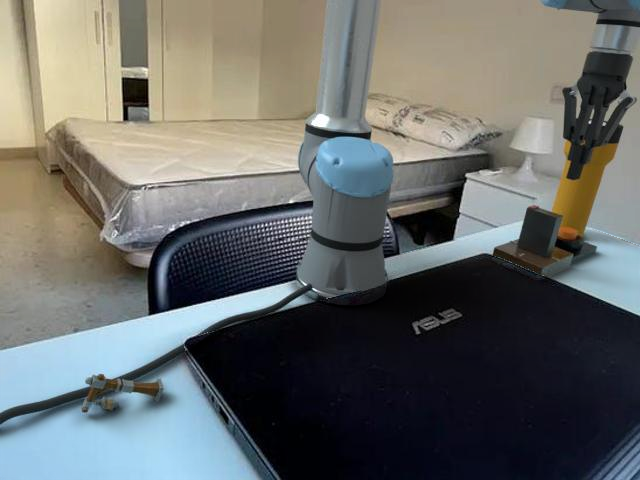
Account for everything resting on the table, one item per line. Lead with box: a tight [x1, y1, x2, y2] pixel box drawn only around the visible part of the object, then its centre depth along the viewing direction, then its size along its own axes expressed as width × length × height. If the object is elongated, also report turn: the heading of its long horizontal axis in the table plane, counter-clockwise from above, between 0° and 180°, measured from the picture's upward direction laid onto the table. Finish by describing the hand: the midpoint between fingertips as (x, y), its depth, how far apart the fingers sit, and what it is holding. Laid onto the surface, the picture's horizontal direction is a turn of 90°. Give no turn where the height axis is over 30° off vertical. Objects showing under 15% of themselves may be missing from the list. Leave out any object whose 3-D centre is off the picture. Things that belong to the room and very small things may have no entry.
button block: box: [554, 234, 598, 266], centre depth 105 cm, size 11×9×4 cm
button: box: [557, 227, 578, 240], centre depth 104 cm, size 4×4×2 cm
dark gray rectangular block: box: [517, 204, 563, 257], centre depth 95 cm, size 6×2×8 cm, turn 39°
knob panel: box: [492, 238, 574, 279], centre depth 97 cm, size 12×10×3 cm
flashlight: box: [551, 117, 624, 238], centre depth 111 cm, size 10×26×10 cm
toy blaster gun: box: [81, 373, 165, 414], centre depth 53 cm, size 2×8×4 cm, turn 118°
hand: (572, 178), depth 99 cm, fingers closed
